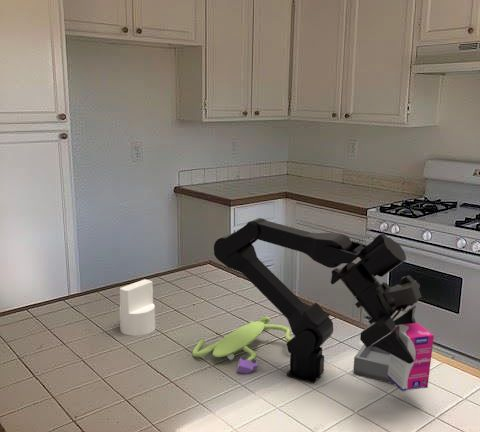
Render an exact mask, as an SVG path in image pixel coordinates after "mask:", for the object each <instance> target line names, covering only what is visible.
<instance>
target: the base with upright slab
mask: <svg viewBox="0 0 480 432" xmlns="http://www.w3.org/2000/svg"><path fill="white" fill-rule="evenodd" d="M153 288H154V287H153V281H152V280H149V279H145V278H144V279H141V280H139V281H135V282H134V283H130V284H128V285H125V286H121V287H120V288H119V301H120V302H119V305H120V306H119V323H120V324H119V325H120V328H119V329H120V332H121V334H123V335H126V336H130V337H138V336H140V337H141V336H145V335H148V334H150V333H152V332H154V331H155V329H156V305H155V304H154V292H153Z"/></svg>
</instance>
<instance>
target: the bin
mask: <svg viewBox="0 0 480 432" xmlns="http://www.w3.org/2000/svg"><path fill="white" fill-rule="evenodd" d="M389 357H390V353H388V352H386V351H384V350H382V349H379V348H377V347H372V346H371V345H370V346H369V347H366V346H365V345H364V344H362V346H361V347H360V349H359V350H358V351H357V353H356V354H355V355H354V358H353V372H352V373H353V375H357V376H361V377H365V378H369V379H372V380H377V381H379V382H384V383H388V384H391V385H395V384H394V383H393V382H392V381H391V380H390V379H389V378H388V377H387V376H388V367H389Z"/></svg>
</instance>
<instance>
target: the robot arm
mask: <svg viewBox="0 0 480 432" xmlns="http://www.w3.org/2000/svg"><path fill="white" fill-rule="evenodd" d="M258 240H259V241H263V242H265V243H269V244H273V245H276V246H279V247H283V248H286V249H289V250H293V251H297V252H300V253H303V254H305V255H307V256H308V257H309V258H311V260H312V261H314V262H315V263H318V264H319V265H323V266H324V267H326V268H328V269H329V268H330V269H332V270H331V278H330V284H331V285H335V284H336V283H337V282H338V281H341V282H342V284H344V285H345V287H346V288H347V289H348V291H349V292H350V293H351V294H352V297H354V299H356V303H354V305H355V306H356V308H358V309H360V307H362V309H363V310H364V312H366V314H367V315H368V317H369V318H370V319H369V320H368V321H367V322H368V323H369V324H368V325H367V326H366V327H365V328H364V329H363V330H362V331H361V332H360V337H359V339H360V341H361V342H362V345H365V346H366V347H369V346H370V345H371V346H372V347H377V348H379V349H382V350H384V351H386V352H388V353H390V354H392V355H394V356H396V357H397V358H399V359H401V360H403V361H405V362H407V363H409V364H411V363H412V362H414V359H413V358H412V356H411V354H410V352H409V351H408V349H407V348H406V346H405V345H404V343H403V341H402V340H401V338H400V337H399V328H400V326H397V327H396V328H395V325H401V324H412V323H417V322H416V320H415V312H416V308H417V306H416V305H415V304H417V303H418V301H419V300H420V299H421V298H422V293H421V291H420V287H421V285H420V283H419V282H417V280H416V279H414V278H413V277H412V276H411V275H406V276H402V277H401V279H400V280H399V284H398V283H397V284H396V285H394V286H390V285H388V283H387V282H385V281H383V282H382V283H381V282H380V281H379V280H378V279H377V277H384V276H386V275H387V274H388V273H390V272H391V271H393V270H394V269H396V268H397V267H398V266H400V265H402V264H403V263H404V262H405V261H406V260H407V256H406V253H405V251H404V249H403V247H402V246H401V244H399V243H398V242H396V241H395V240H394V239H393V238H391V237H388V236H387V235H386V234H385V233H384V232H381V233H380V234H378V235H377V236H375V237H374V239H373V240H372V241H371V242H370V243H369V244H364V243H360V242H358V241H354V240H351V239H350V237H349V236H348V235H346V234H343V233H336V232H335V233H334V232H310V231H306V230H303V229H300V228H295V227H292V226H288V225H284V224H280V223H277V222H274V221H273V222H272V221H269V220H267V219H265V218H262V217H258V218H255V219H254V220H250V221H248V222H247V223H246V224H245V225H244V226H243V227H241V228H240V229H237V230H236V231H234V232H232V233H230V234H227V235H225V236H224V235H223V237H220V238H218V239H216V240H215V242H214V244H213V254H214V257H215V258H216V259H217V261H219V262H220V263H222V264H223V265H224V266H226V268H229V269H231V270H234V271H236V272H238V273H240V274H242V275H244V277H245V278H246V279H248V281H249V282H250V283H252V285H253V286H254V287H255V288H256V289H258V290H259V292H260V293H261V294H262V295H263V296H264V297H265V298H266V299H267V300H268V301H269V303H271V304H272V305H273V306H274V307H275V308H276V309H277V310H278V311H279V312H280V313H281V314H282V315H283V316H284V318H286V319H287V321H288V324H289V327H290V331H291V333H292V334H293V337H291V338H292V339H291V340H290V341H289V342H288V341H287V342H286V343H285V344H286V349H287V351H288V354H289V353H290V355H289V356H290V358H289V370H288V371H287V373H286V376H287V377H289V378H294V379H297V380H301V381H305V382H308V383H312V384H314V383H316V381H318V380H319V378H321V376H322V375H323V374H324V372H325V355H324V354H323V347H321V346H322V345H324V344H325V342H326V341H328V339H329V338H330V337H331V336H332V335H333V333H334V322H333V320H332V319H331V318H330V316H331V315H330V314H329V313H327V312H326V311H324V309H323V308H322V307H321V306H320V304H319V303H317V302H314V303H313V304H312V305H309V304H306V303H304V302H302V300H300V299H299V297H298V296H297V295H296V294H294V292H292V291H291V290H290V288H288V287H287V285H286V284H285V283H283V282H282V281H281V279H279V277H277V276H276V275H275V274H274V272H272V271H271V270H270V269H269V268H268V267H267V266H266V265H265V264H264V263H263V262H262V261H261V259H259V258H258V256H257V252H256V249H255V247H254V245H253V244H254V243H256V242H257V241H258ZM358 258H359V259H360V260H359V261H358V262H356V263H355V262H354V261H355V260H357V259H358ZM343 264H345V265H343ZM340 265H343V266H342V267H341V268H338V267H339V266H340ZM376 276H377V277H376Z"/></svg>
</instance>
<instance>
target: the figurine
mask: <svg viewBox="0 0 480 432" xmlns="http://www.w3.org/2000/svg"><path fill="white" fill-rule="evenodd" d="M270 321H271V317H269V316H263V317H261V318H260V319H259V320H258V321H252V320H251V321H250V322H249V323H247V324H245V325H243V326H240V327H239V328H236V329H235V330H233V331H231V332H230V333H228V334H226V336H225V337H223V338H221V339H219V340H218V341H217V342H215V343H213V344H210V345H208V346H207V347H205V348H203V349H201V348H202V347H203V346H204V345H205V344H206V343H205V342H206V341H205V339H200V341H199V342H198V343H197V344H196V346H195V347H193V348H194V349H193V350H192V356H193V357H195V358H198V357H202V356H204V355H206V354H208V353H210V352H211V351H212V356H213V357H215V358H224V357H227V359H228V360H230V361H233V360H234V358H235V355H236V353H237V352H239V351H240V350H243V351H244V352H246V353H247V354H249V355H250V356H249V357H248V358H246V356H245V355H241V356H240V357H239V360H238V362H237V363H236V364H237V366H236V372H237V373H240V374H251V373H252V372H253V371H256V370H257V367H258V366H259V363H258V362H257V360H256V357H257V353H256V352H255V351H254V350H252V348H249V345H250V344H251V343H253V342H254V341H255V340H256V339H257V338H258V337H259V336H260V335H261V334H262V332H263V331H264V330H277V331H283V332H285V341H287V342H289V341H290V340H291V339H292V338H293V337H291V328H289V327H287V326H284V325H281V324H271V323H270V324H269V322H270Z"/></svg>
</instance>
